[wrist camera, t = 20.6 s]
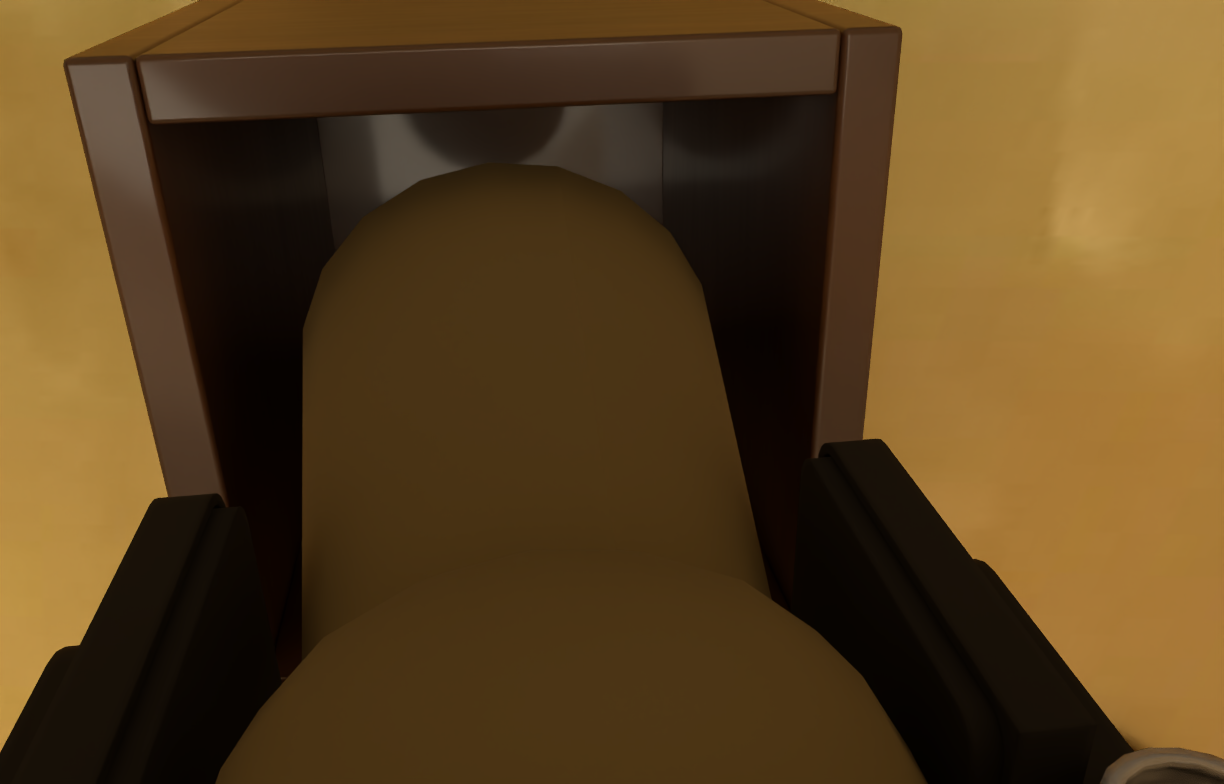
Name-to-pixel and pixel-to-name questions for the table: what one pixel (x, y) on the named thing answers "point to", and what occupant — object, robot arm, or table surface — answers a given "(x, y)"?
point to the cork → (537, 519)
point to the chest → (468, 136)
